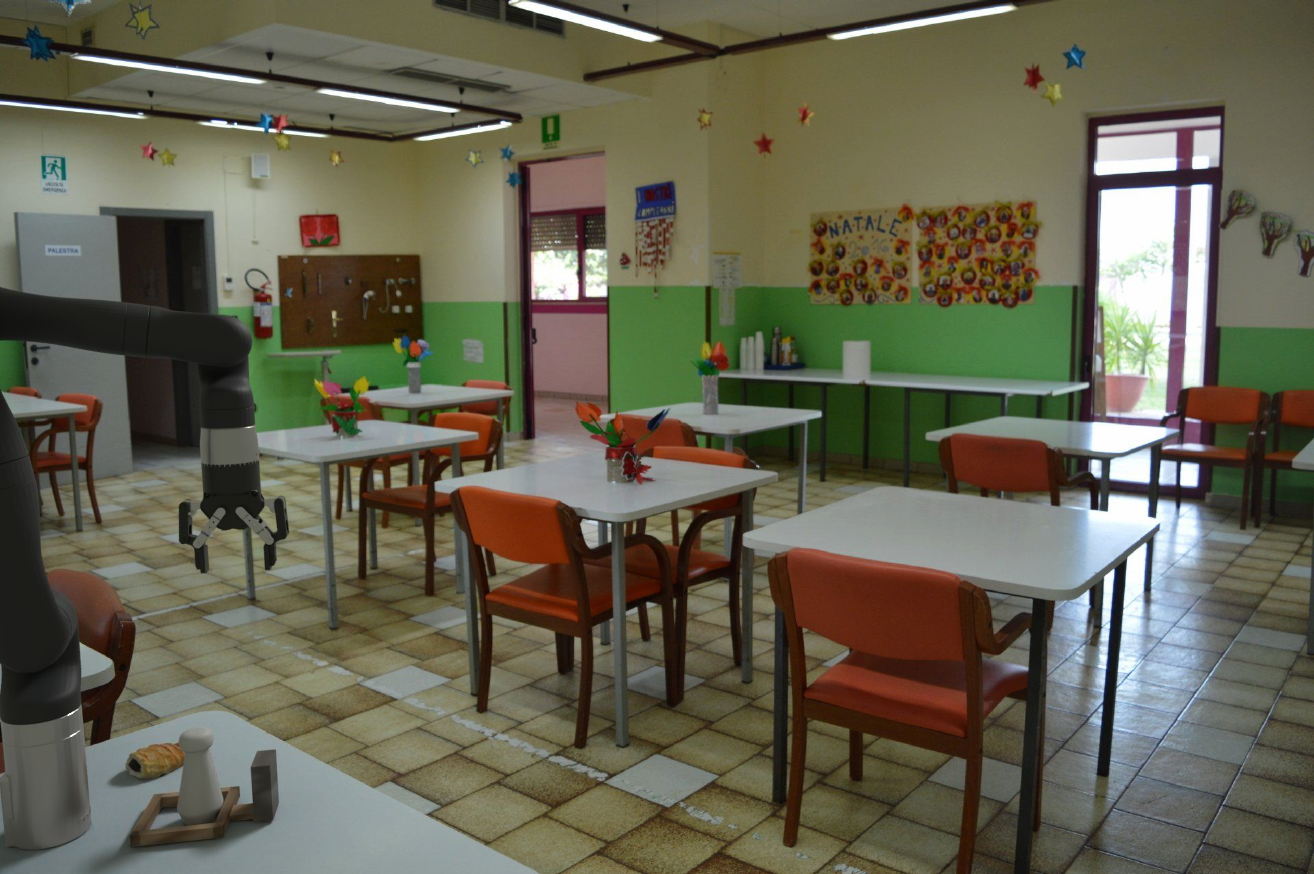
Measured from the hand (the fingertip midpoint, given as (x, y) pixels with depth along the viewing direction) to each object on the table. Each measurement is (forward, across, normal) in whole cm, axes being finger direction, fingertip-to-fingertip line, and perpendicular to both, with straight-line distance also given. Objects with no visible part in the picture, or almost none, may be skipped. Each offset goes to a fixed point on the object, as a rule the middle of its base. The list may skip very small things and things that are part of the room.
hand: (237, 570), depth 142 cm
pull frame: (+33, -4, -8) cm, 34 cm away
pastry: (+34, -15, +10) cm, 38 cm away
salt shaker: (+33, -5, -8) cm, 35 cm away
